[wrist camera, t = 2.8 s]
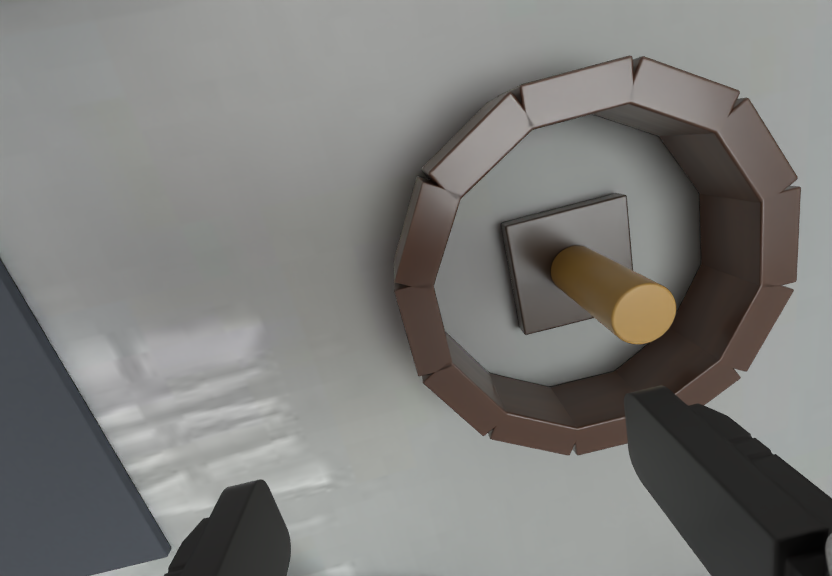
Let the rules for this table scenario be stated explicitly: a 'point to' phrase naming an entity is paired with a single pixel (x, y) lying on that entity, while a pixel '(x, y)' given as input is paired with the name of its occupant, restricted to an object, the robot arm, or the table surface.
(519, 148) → the table surface
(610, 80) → the walnut ring
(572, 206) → the ring holder
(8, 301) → the grey mat
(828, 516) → the robot arm
